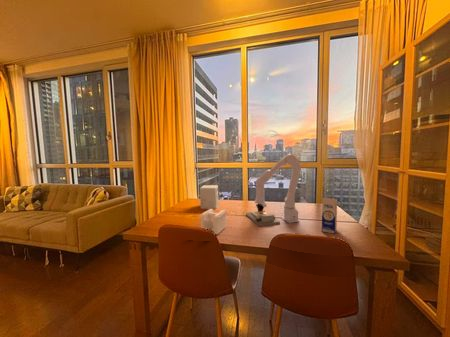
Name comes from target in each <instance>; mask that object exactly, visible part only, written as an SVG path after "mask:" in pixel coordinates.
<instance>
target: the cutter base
mask: <svg viewBox="0 0 450 337" xmlns="http://www.w3.org/2000/svg"><path fill="white" fill-rule="evenodd" d="M267 214H268V215H262V216H261V218H260V217H259V216H258V211H254V212H253V211H250V212H246V213H245V215H246V216H247V217H248V218H249V219H250V220H251V221H252V222H253V223H255V224H256V225H257V226H258V227H268V226H275V225H281V222H280V220H278V219H276V216H275V214H269V213H267Z"/></svg>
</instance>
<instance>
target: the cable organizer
mask: <svg viewBox="0 0 450 337" xmlns="http://www.w3.org/2000/svg"><path fill="white" fill-rule="evenodd" d="M227 214H228V212H227V211H226V210H225V209H221V210H220V211H219V212H214V209H206V211H204V212H202V213H201V215H200V229H201V228H205V229H208V230H207V231H209V230H210V229H211V232H212V233H213V234H215V235H219V234H220V233H221V232H222V231H223V230H224V229H225V228H226V227H227Z"/></svg>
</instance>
